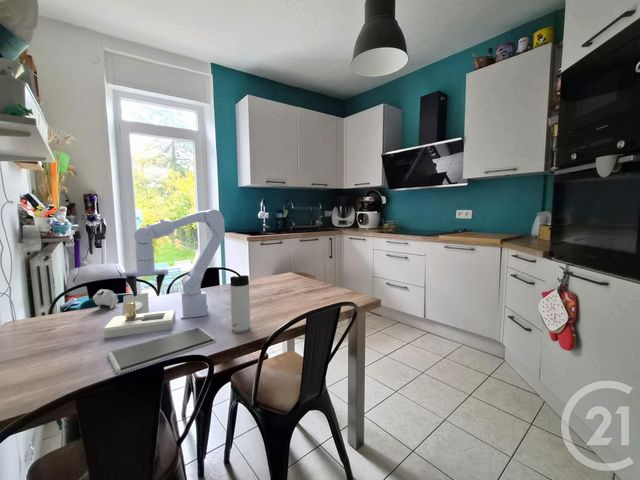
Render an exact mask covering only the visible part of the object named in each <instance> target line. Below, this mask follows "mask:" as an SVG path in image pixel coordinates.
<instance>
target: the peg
mask: <svg viewBox="0 0 640 480" xmlns="http://www.w3.org/2000/svg"><path fill="white" fill-rule="evenodd" d="M124 305H125V318H126V319H128V321H135V320H134V318H135V317H136V306H135V302H129V303H125V304H124Z"/></svg>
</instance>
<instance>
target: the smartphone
mask: <svg viewBox="0 0 640 480" xmlns="http://www.w3.org/2000/svg"><path fill="white" fill-rule="evenodd" d="M216 341H217V340H216V338H215V337H214V336H213V335H211V334H210V333H209V332H207V331H205V330H204V329H203V328H202V327H196V328H192V329H188V330H185V331H181V332H178V333H174V334H169V335H167V336H164V337H160V338H157V339H152V340H149V341H146V342H141V343H138V344H135V345H131V346H127V347H123V348H120V349H117V350H113V351H110V352H108V353H107V358H108V361H109V362H110V365H111V366H112V369H113V370H114V373H117V374H118V375H119V374H123V373H126V372H129V371H132V370H133V369H132V368H135V367H138V366H140V367H138V368H141V367H143V365H144V366H146V365H149V364H151V363H150V362H153V361H156V360H159V359H162V360H164V359H163V358H165V359H168V358H170V357H174V356H177V355H180V354H183V353H185V351H186V352H189V351H191V350H195V349H198V348H200V347H203V346H207V345H210V344H213V343H215V342H216ZM182 352H183V353H182ZM179 353H180V354H179ZM176 354H177V355H176ZM173 355H174V356H173ZM167 357H168V358H167ZM159 361H160V360H159ZM156 362H157V361H156ZM148 363H149V364H148ZM153 363H154V362H153ZM129 369H131V370H129ZM135 369H136V368H135ZM122 372H123V373H122Z"/></svg>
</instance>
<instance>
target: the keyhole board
mask: <svg viewBox="0 0 640 480" xmlns="http://www.w3.org/2000/svg"><path fill="white" fill-rule="evenodd" d="M134 320H135V321H128V319H126V318H125V315H124V316H123V315H117V316H113V317H112V319H110V321H109V322H108V323H107V324H106V325H105V326H104V328H103V329H104V330H103V331H104V333H103V334H104V339H109V338H116V337H125V336H131V335H139V334H149V333H153V332H154V333H155V332H163V331H169V330H171V331H172V330H173V327H174V324H175V321H176V309H171V310H162V311H161V310H160V311H153V312H149V313H142V314H136V317H135V318H134Z"/></svg>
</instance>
